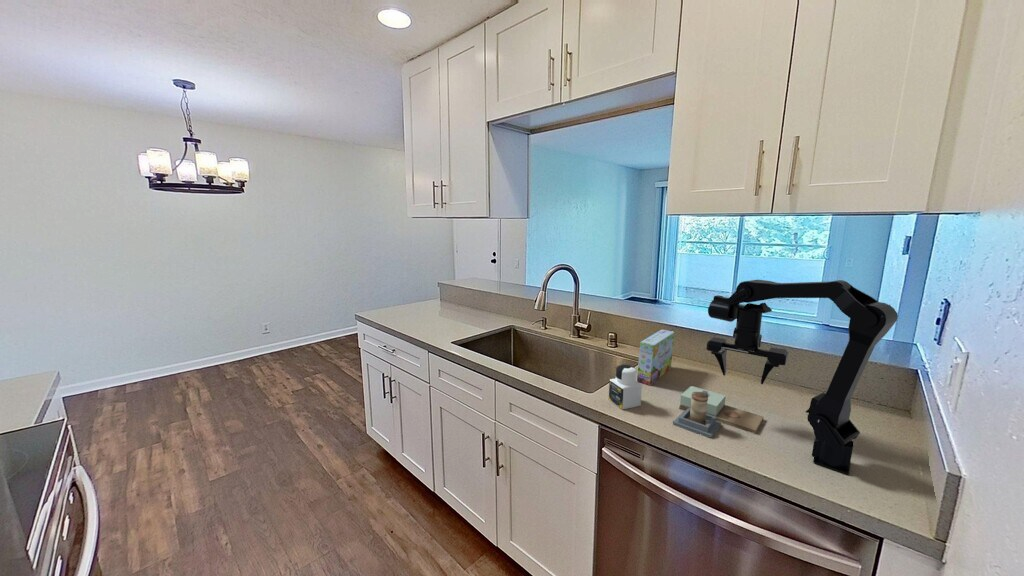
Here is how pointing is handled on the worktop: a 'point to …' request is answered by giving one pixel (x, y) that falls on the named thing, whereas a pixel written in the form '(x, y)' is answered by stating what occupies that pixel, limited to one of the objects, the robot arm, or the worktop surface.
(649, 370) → the snack box
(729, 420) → the board
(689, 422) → the blue-grey square tray
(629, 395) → the medicine bottle
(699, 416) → the peg
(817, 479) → the worktop surface
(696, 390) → the cover
